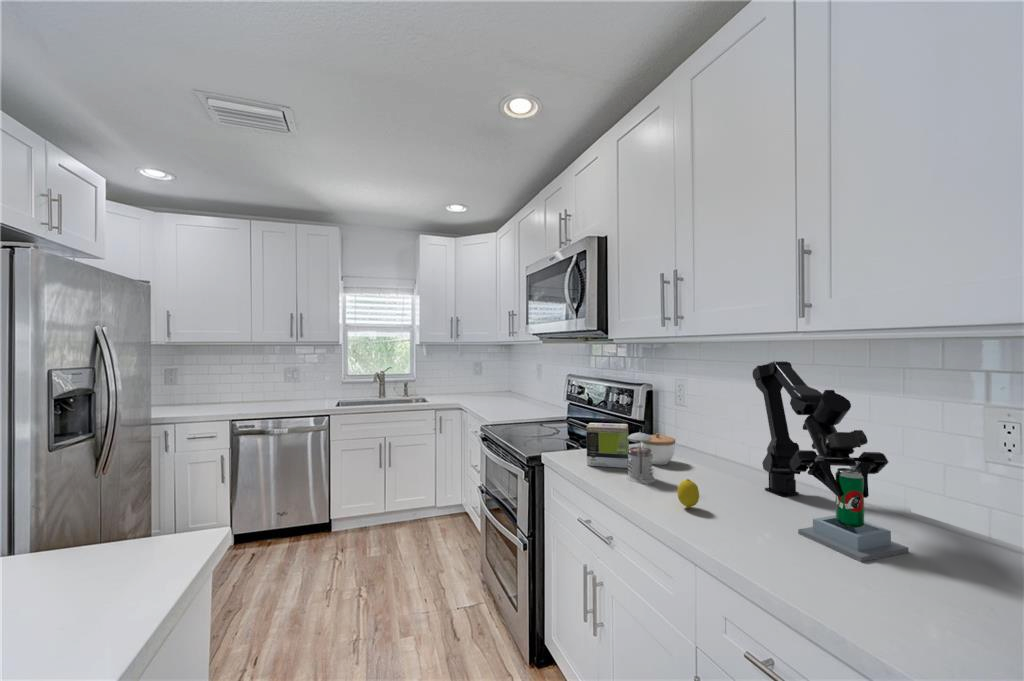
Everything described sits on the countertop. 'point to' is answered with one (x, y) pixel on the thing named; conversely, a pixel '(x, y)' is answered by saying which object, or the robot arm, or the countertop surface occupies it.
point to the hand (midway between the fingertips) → (853, 496)
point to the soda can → (850, 497)
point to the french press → (640, 459)
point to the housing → (853, 539)
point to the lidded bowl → (660, 448)
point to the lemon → (688, 493)
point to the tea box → (607, 445)
